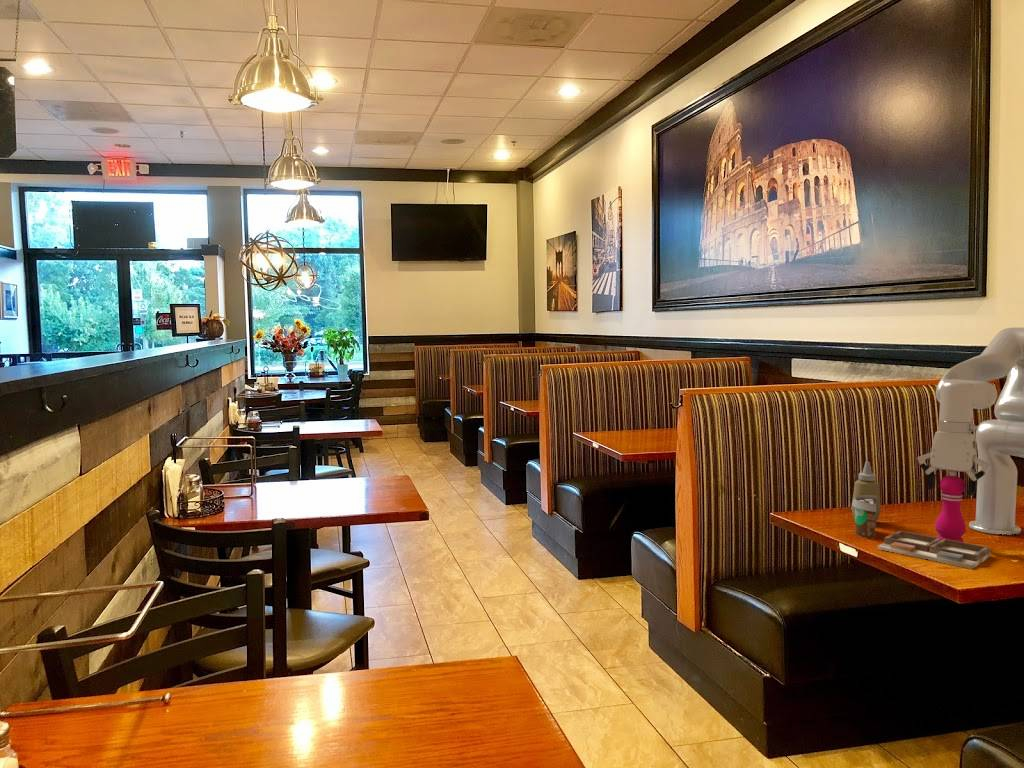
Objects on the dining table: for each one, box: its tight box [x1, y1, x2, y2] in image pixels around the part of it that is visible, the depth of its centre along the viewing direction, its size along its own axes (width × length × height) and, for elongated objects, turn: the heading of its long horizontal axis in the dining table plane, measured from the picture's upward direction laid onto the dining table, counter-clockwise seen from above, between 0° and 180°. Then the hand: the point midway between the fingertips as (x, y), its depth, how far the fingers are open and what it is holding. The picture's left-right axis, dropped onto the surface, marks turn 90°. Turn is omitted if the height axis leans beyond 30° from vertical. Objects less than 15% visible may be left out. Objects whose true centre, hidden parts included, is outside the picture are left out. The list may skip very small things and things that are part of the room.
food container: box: [851, 495, 877, 539], centre depth 216 cm, size 12×6×10 cm, turn 154°
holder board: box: [877, 530, 992, 570], centre depth 198 cm, size 15×22×2 cm
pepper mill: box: [934, 470, 967, 542], centre depth 206 cm, size 7×7×20 cm
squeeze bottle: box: [850, 461, 882, 523], centre depth 229 cm, size 8×8×18 cm
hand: (951, 491), depth 205 cm, fingers open, 9 cm apart
